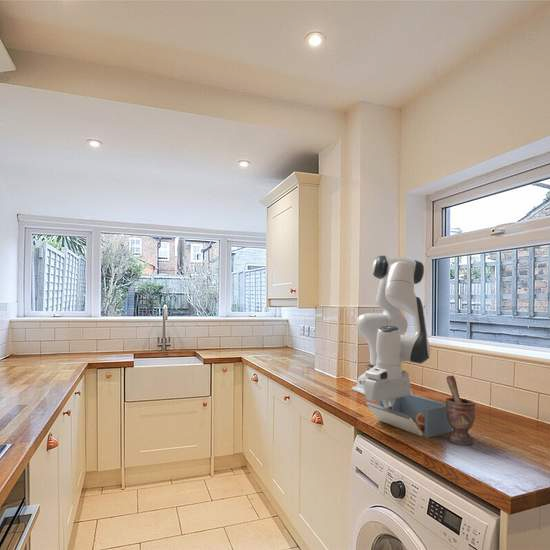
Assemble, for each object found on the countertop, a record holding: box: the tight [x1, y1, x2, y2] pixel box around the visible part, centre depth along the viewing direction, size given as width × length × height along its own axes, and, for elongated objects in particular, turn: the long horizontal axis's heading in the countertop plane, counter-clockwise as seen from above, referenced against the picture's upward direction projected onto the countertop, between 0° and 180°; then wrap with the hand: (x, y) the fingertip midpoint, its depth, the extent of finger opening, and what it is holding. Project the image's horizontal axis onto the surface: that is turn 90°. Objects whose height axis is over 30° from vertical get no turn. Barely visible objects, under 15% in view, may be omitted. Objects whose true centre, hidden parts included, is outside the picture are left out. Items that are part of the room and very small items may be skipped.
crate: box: [377, 393, 453, 439], centre depth 144 cm, size 22×13×9 cm, turn 31°
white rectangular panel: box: [365, 401, 423, 437], centre depth 138 cm, size 19×1×10 cm
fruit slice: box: [414, 412, 425, 430], centre depth 139 cm, size 8×7×5 cm
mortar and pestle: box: [445, 375, 476, 447], centre depth 130 cm, size 12×9×20 cm
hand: (388, 411), depth 141 cm, fingers closed
